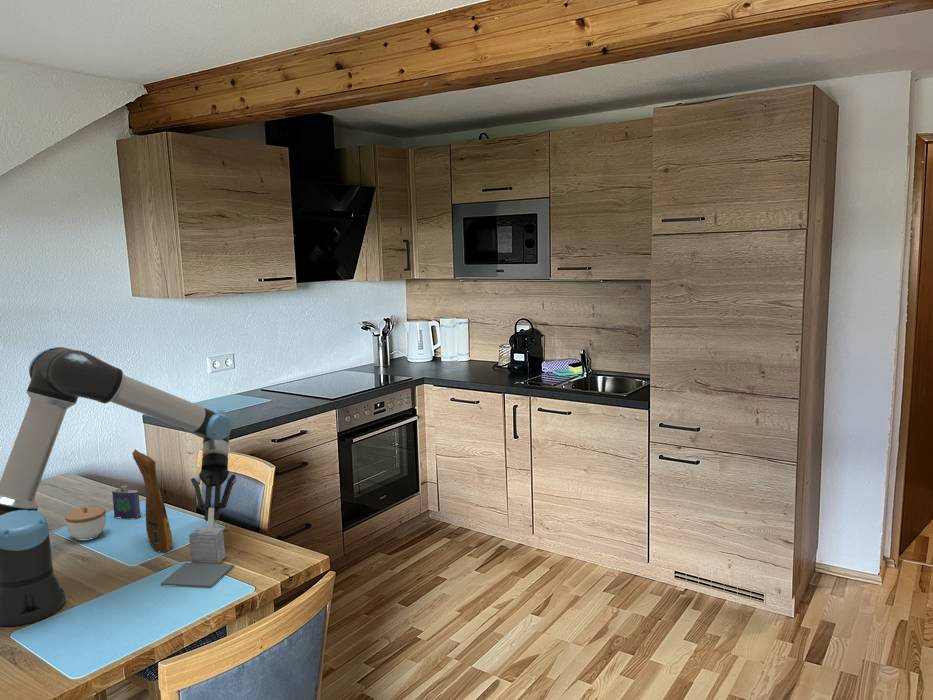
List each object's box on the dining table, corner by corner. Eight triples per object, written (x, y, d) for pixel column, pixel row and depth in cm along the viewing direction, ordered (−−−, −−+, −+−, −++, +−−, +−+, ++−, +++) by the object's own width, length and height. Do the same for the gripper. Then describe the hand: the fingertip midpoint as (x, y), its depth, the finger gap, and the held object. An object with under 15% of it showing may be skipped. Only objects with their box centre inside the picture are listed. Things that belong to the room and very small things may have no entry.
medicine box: (225, 557, 194) (223, 527, 193) (218, 564, 190) (216, 534, 189) (198, 556, 195) (196, 527, 194) (191, 564, 191) (188, 534, 190)
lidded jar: (115, 531, 215) (112, 502, 214) (88, 545, 205) (85, 515, 203) (87, 528, 218) (84, 500, 216) (59, 542, 208) (56, 512, 206)
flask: (142, 516, 227) (139, 484, 226) (136, 519, 224) (133, 487, 223) (117, 514, 229) (114, 483, 227) (111, 518, 226) (108, 486, 224)
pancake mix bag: (151, 558, 195) (142, 462, 191) (139, 536, 211) (131, 447, 207) (177, 552, 199) (168, 457, 195) (163, 531, 214) (155, 443, 210)
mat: (211, 587, 176) (211, 585, 176) (160, 585, 179) (160, 583, 179) (233, 566, 188) (233, 564, 188) (186, 564, 190) (185, 562, 190)
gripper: (239, 461, 216) (236, 533, 202) (195, 465, 213) (189, 538, 200) (235, 449, 210) (232, 523, 196) (190, 453, 207) (184, 527, 194)
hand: (210, 530), depth 198 cm, fingers closed
